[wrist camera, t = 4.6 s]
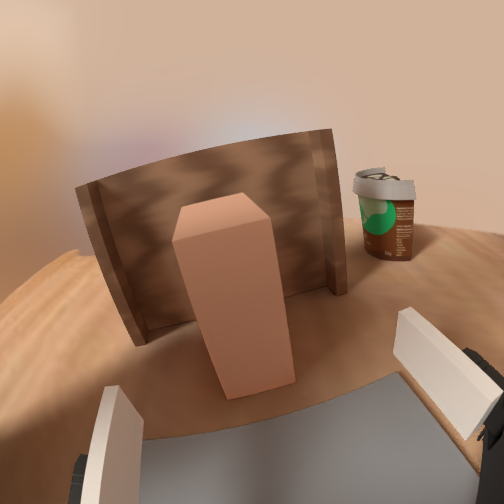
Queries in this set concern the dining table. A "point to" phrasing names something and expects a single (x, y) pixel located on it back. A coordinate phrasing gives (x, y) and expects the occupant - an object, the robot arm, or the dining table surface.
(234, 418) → the dining table surface
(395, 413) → the slate mat
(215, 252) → the carton
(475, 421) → the robot arm
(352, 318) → the dining table surface
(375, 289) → the dining table surface
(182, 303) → the brown wooden board
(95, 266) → the dining table surface
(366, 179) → the food container
